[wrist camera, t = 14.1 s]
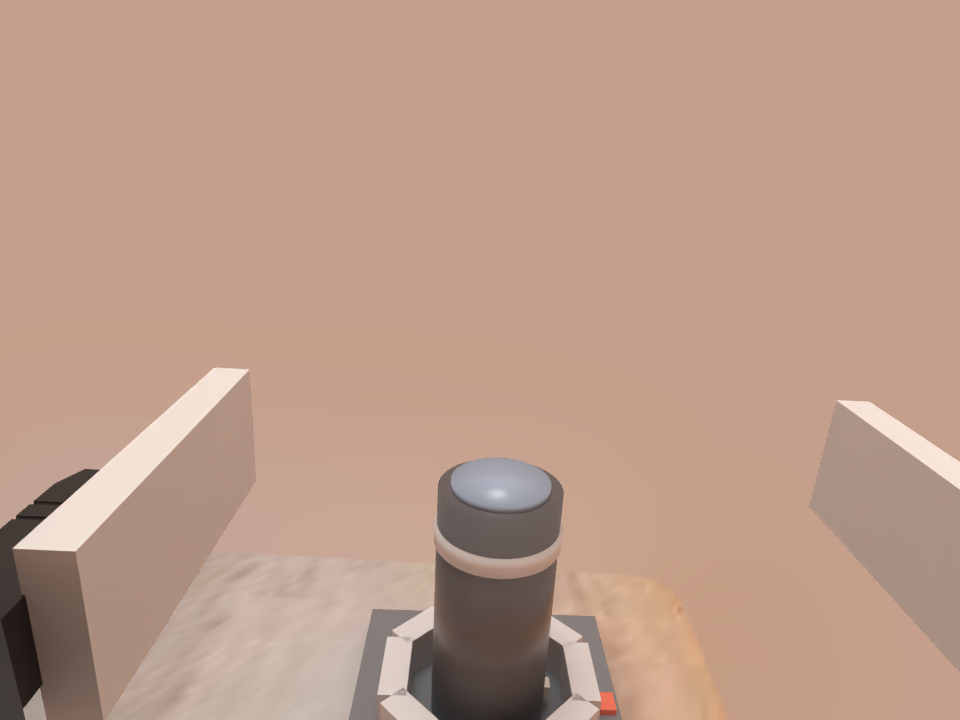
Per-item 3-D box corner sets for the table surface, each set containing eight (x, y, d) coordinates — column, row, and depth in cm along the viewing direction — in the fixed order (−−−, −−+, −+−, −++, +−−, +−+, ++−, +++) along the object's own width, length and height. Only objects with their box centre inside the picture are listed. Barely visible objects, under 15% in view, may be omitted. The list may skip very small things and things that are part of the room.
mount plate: (325, 855, 24) (323, 790, 23) (372, 627, 35) (372, 577, 34) (649, 862, 24) (660, 799, 23) (592, 634, 36) (598, 585, 35)
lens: (425, 753, 27) (432, 513, 23) (431, 659, 32) (438, 449, 28) (554, 755, 27) (581, 517, 24) (540, 661, 32) (560, 453, 29)
